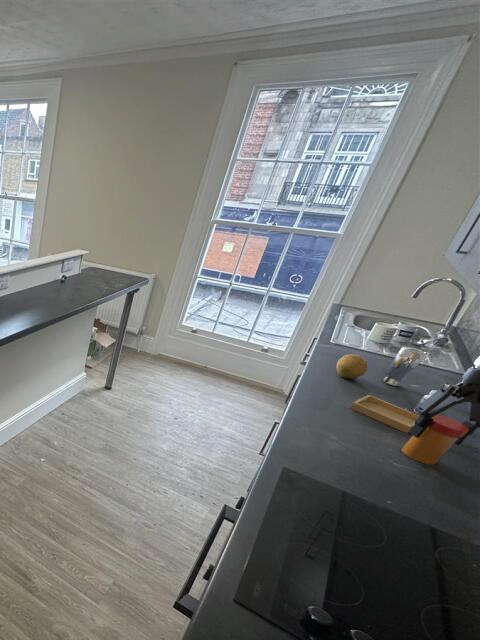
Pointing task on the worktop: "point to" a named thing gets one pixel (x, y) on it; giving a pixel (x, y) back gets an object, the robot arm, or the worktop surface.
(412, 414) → the tray
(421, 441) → the jam jar
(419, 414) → the pill bottle
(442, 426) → the lid
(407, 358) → the beer glass
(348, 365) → the potato
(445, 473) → the worktop surface
